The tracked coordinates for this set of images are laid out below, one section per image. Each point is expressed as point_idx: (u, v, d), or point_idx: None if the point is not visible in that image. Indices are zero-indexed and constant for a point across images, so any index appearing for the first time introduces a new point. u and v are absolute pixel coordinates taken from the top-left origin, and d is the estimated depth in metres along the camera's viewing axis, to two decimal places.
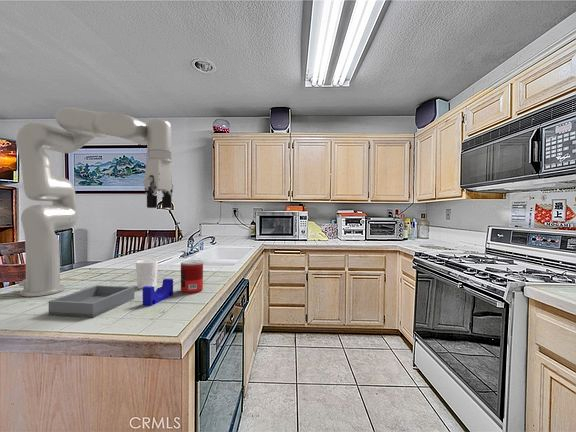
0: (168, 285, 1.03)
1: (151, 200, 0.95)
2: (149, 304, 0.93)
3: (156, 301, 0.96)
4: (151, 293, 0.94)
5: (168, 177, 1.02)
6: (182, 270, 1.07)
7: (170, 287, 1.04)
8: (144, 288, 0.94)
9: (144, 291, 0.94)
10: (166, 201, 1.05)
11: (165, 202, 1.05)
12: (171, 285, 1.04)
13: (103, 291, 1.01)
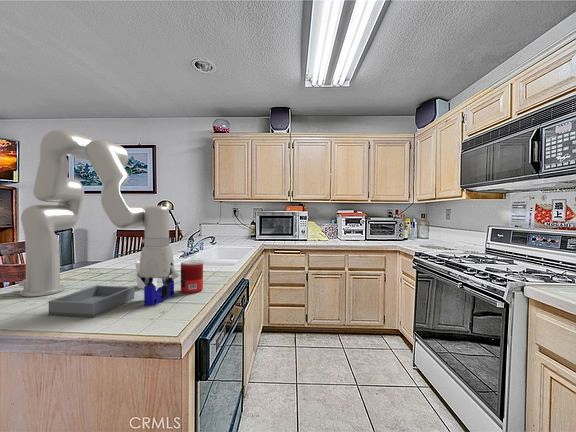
0: (169, 284, 1.03)
1: (168, 289, 0.99)
2: (151, 303, 0.94)
3: (158, 300, 0.96)
4: (153, 292, 0.94)
5: None
6: (182, 270, 1.07)
7: (171, 286, 1.04)
8: (145, 287, 0.94)
9: (145, 290, 0.94)
10: None
11: None
12: (172, 285, 1.04)
13: (103, 291, 1.01)
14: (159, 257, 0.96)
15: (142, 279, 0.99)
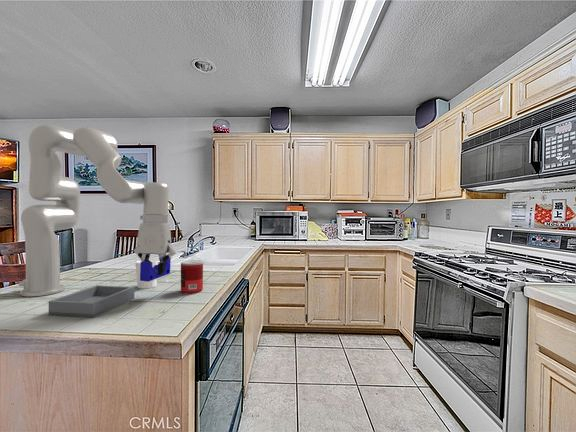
0: None
1: (164, 267, 0.99)
2: (146, 279, 0.94)
3: (153, 277, 0.96)
4: (149, 268, 0.94)
5: None
6: (182, 270, 1.07)
7: (167, 264, 1.04)
8: (142, 263, 0.94)
9: (142, 266, 0.94)
10: None
11: None
12: (169, 263, 1.04)
13: (103, 291, 1.01)
14: (157, 233, 0.96)
15: (139, 255, 0.99)
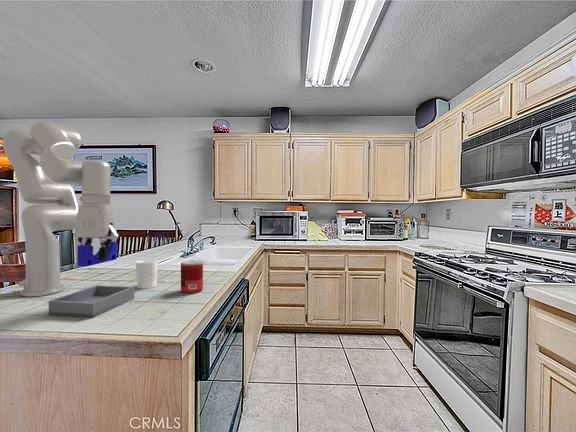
0: (110, 247, 0.96)
1: (107, 252, 0.93)
2: (84, 264, 0.87)
3: (93, 262, 0.89)
4: (87, 252, 0.87)
5: None
6: (182, 270, 1.07)
7: (113, 250, 0.97)
8: (79, 246, 0.87)
9: (79, 250, 0.87)
10: None
11: None
12: (114, 248, 0.97)
13: (103, 291, 1.01)
14: (96, 215, 0.89)
15: (79, 240, 0.92)
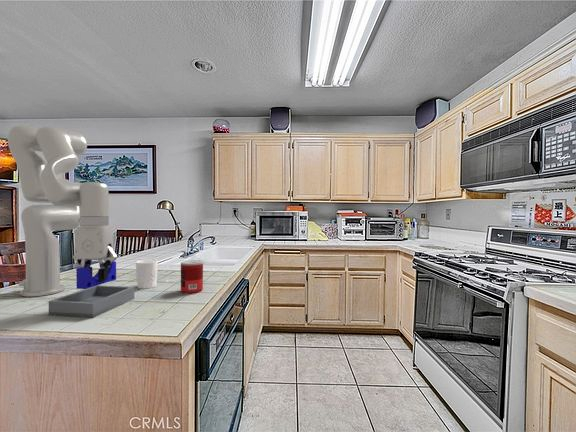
0: (110, 268, 0.96)
1: (106, 273, 0.92)
2: (83, 286, 0.86)
3: (93, 284, 0.89)
4: (85, 274, 0.86)
5: None
6: (182, 270, 1.07)
7: (112, 270, 0.96)
8: (78, 269, 0.86)
9: (78, 272, 0.86)
10: None
11: None
12: (114, 268, 0.97)
13: (103, 291, 1.01)
14: (95, 237, 0.89)
15: (78, 261, 0.92)
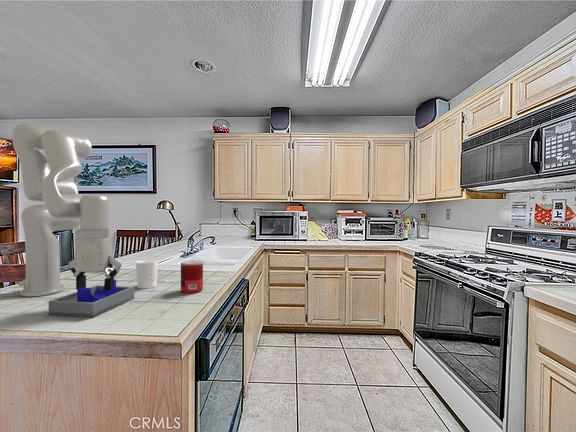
0: None
1: (112, 282, 0.92)
2: None
3: None
4: (87, 295, 0.87)
5: None
6: (182, 270, 1.07)
7: None
8: (79, 290, 0.87)
9: (79, 293, 0.87)
10: (82, 281, 0.93)
11: (81, 282, 0.93)
12: (114, 287, 0.97)
13: None
14: (95, 250, 0.89)
15: (72, 270, 0.92)
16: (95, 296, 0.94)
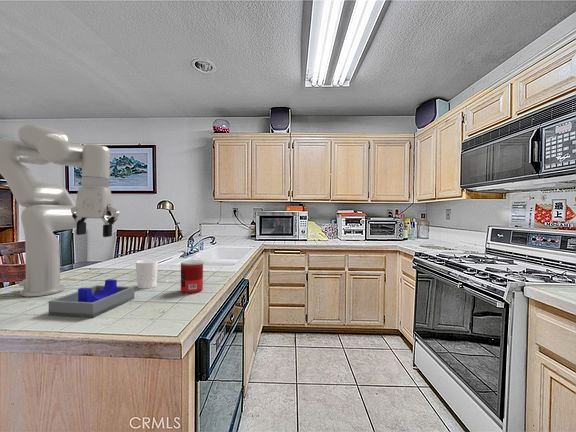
0: (110, 286, 0.96)
1: (111, 229, 0.97)
2: None
3: None
4: (87, 295, 0.87)
5: None
6: (182, 270, 1.07)
7: (113, 288, 0.97)
8: (80, 290, 0.87)
9: (80, 293, 0.87)
10: (82, 227, 0.98)
11: (81, 228, 0.98)
12: (114, 287, 0.97)
13: None
14: (95, 197, 0.94)
15: (73, 216, 0.97)
16: (96, 296, 0.94)
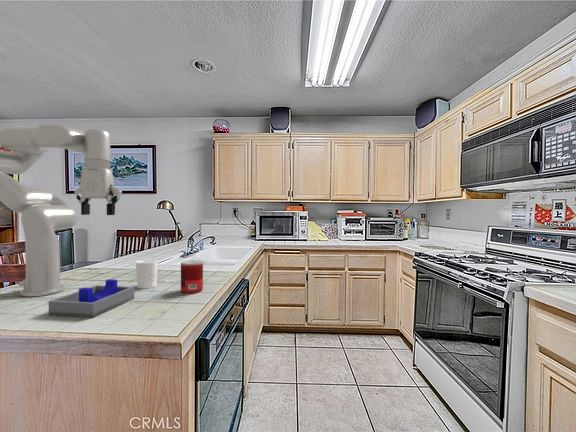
0: (111, 286, 0.96)
1: (114, 208, 1.03)
2: None
3: None
4: (88, 295, 0.87)
5: None
6: (182, 270, 1.07)
7: (113, 288, 0.97)
8: (80, 290, 0.87)
9: (80, 293, 0.87)
10: (86, 208, 1.04)
11: (86, 209, 1.04)
12: (115, 287, 0.97)
13: None
14: (98, 177, 1.00)
15: (77, 197, 1.04)
16: (96, 296, 0.94)
